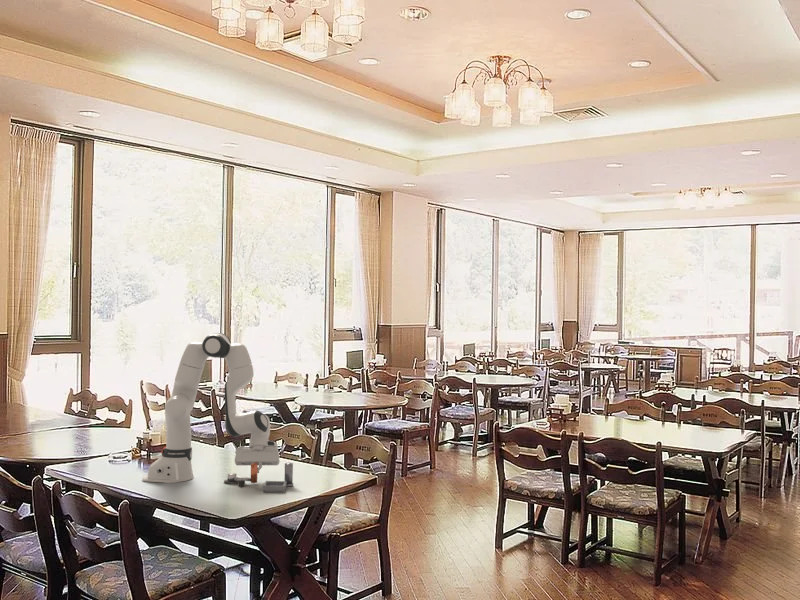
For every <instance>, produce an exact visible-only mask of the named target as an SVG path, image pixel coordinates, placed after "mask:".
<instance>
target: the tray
mask: <svg viewBox="0 0 800 600" xmlns="http://www.w3.org/2000/svg"><path fill="white" fill-rule="evenodd" d="M287 488H288V487H287V481H284V480H283V481H282V480H266V481H264V484H263V485H262V493H271V494H273V493H275V494H276V493H280V494H281V493H286V490H287Z"/></svg>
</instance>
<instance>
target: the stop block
mask: <svg viewBox="0 0 800 600" xmlns="http://www.w3.org/2000/svg"><path fill="white" fill-rule="evenodd" d="M238 487H240V488H243V487H246V481H244V480H240V481H239V483H238Z"/></svg>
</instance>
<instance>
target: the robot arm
mask: <svg viewBox="0 0 800 600" xmlns="http://www.w3.org/2000/svg"><path fill="white" fill-rule="evenodd" d="M209 357H210V358H214V359H215V358H217V359H218V358H220V359H224V360H225V362H226V364H227V369H228V378H227V381H225V383H224V403H225V404H224V407H225V409H224V411H225V423H224V424H225V426H224V427H225V431H226V433H227V434H228V435H229V436H231V437H233V438H237V437H241V436H244V435H248V434H250V438H249V445H248V446H247V445H246V446H239V447H237V448H236V449H235V457H234V464H235V466H251V464H252V463H254V462H257V464H258V473H257V474H260V470H261V469H262V468H263V466H279V465H280V452H279V447H278V443H277V442H276V441H272V440H269V437H270V434H271V421H270V420H271V419H270V418H269V416H267V414H264V413H262V412H261V411H260V410H252V411H247V412H244V413H237V402H236V400H237V399H236V396H237V394H238V392H239V391H241V390H242V389H243V388H245V387H246V386H248V385H249V384H250V383H251V382H252V380H253V378H254V367H253V362H252V359H251V355H250V353H249V351H248V348H247V347H246V346H245V344H243V343H232V342H231V339H230V338H229V336H227V334H225V333H222V332H215V333H211V334H209V335H207V336H206V337H205V338H204V339H203V341H202V342H199V341H192V342H189V343H188V344H187V345H186V347H185V349H184V351H183V354H182V356H181V359H180V361H179V365H178V367H177V371H176V373H175V374H176V375H175V379H174V383H173V389H172V393H171V396H170V397H169V398H168V399H167V401H166V402H165V404H164V405H165V406H164V416H165V428H166V429H165V430H166V431H165V432H166V435H165V436H166V437H165V438H166V441H165V442H166V446H164V447H163V448H162V449H161V451H160V452H161V456H160V457H158V459H156V460H155V461H153V462H152V463H151V464H150V465H149V467H148V471H147V474H145V475H143V477H142V482H148V483H149V482H150V483H167V484H175V483H179V482H185V481H191V480H193V479H194V478H195V476H194V473H193V472H194V471H193V465H192V458H193V450H192V449H193V447H192V427H191V425H192V424H191V413H192V410H193V409H194V406H195V401H196V398H197V395H198V389H199V385H200V382H201V379H202V376H203V375H202V374H203V372H204V369H205V366H206V365H205V364H206V362H207V360H208V359H209Z"/></svg>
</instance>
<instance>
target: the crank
mask: <svg viewBox="0 0 800 600" xmlns="http://www.w3.org/2000/svg"><path fill="white" fill-rule="evenodd" d="M258 467H259V465H258V464H257V462H254V463H252V464H251V465H250V477H247V476H246V477H245V476H238V474H237V473H235V472H232V473H231V472H230V473H227V479H226V480H228V481H236V480H244V481H245V482H250V483H251V484H257V483H258V474H259V473H258Z"/></svg>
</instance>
